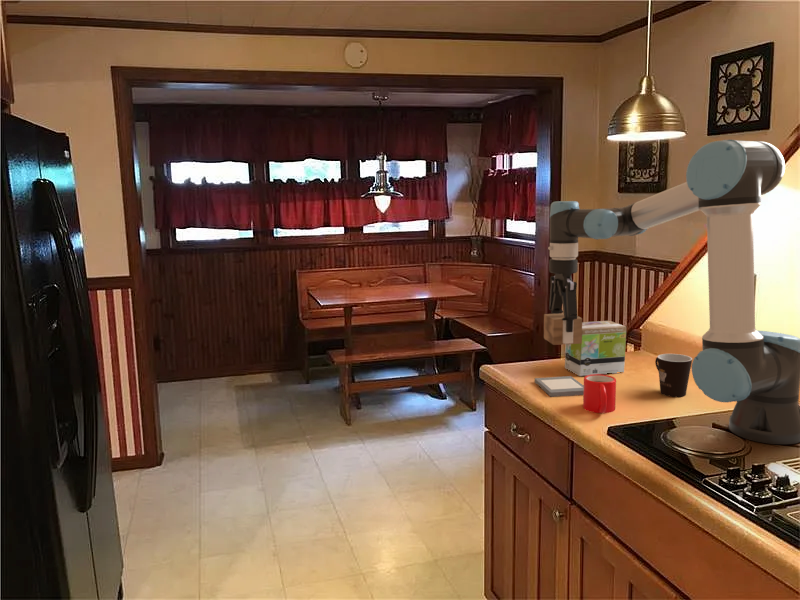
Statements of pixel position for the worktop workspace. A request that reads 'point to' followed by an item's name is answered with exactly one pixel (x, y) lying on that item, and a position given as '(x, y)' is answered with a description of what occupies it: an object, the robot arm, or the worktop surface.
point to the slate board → (560, 386)
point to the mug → (599, 393)
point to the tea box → (597, 349)
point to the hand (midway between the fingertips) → (562, 339)
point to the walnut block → (560, 329)
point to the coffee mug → (673, 374)
